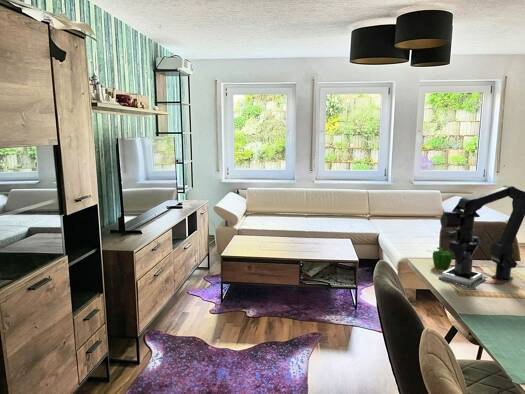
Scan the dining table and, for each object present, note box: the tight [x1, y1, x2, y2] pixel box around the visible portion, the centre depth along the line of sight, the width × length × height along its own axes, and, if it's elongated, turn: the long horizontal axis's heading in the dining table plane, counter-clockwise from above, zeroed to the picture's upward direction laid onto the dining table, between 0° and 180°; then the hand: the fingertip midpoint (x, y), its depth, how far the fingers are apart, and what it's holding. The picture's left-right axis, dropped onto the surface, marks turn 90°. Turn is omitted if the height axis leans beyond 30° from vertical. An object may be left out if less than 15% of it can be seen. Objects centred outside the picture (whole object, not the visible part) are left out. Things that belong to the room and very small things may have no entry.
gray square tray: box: [438, 266, 487, 288], centre depth 175 cm, size 14×14×3 cm
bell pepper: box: [432, 247, 453, 270], centre depth 190 cm, size 8×8×10 cm
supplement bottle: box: [454, 250, 474, 279], centre depth 175 cm, size 7×7×12 cm
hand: (463, 261), depth 174 cm, fingers open, 9 cm apart
